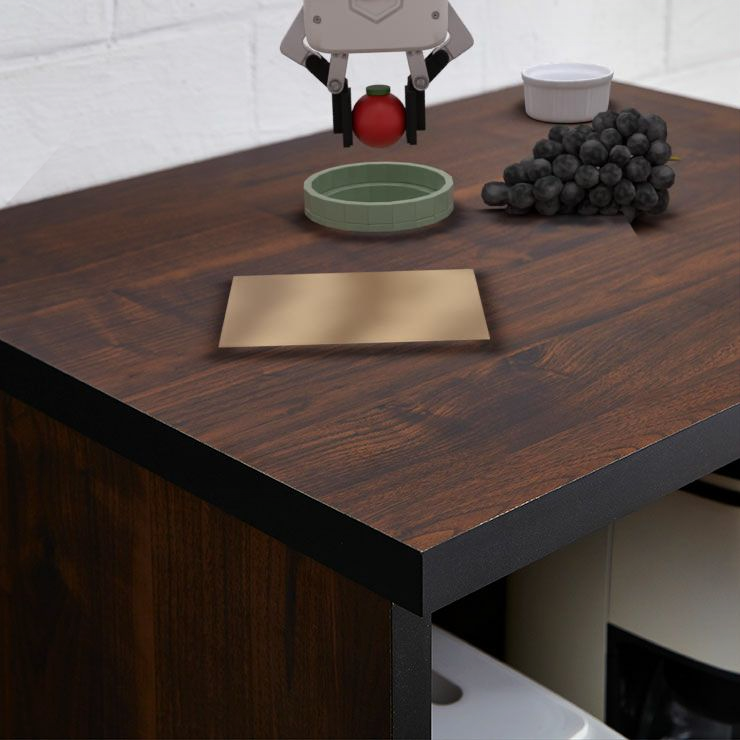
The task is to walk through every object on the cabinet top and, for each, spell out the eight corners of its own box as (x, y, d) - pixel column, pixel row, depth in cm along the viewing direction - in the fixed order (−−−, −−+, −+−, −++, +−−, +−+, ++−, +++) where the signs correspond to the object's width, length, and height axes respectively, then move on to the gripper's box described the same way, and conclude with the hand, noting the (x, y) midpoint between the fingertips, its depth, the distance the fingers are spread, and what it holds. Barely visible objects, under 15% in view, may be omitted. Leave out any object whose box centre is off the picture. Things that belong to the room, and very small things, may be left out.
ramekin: (523, 126, 132) (524, 80, 130) (517, 104, 140) (518, 61, 138) (617, 124, 131) (619, 79, 130) (606, 102, 139) (608, 59, 138)
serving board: (219, 370, 82) (217, 346, 81) (234, 296, 93) (233, 275, 92) (490, 361, 82) (490, 338, 81) (473, 289, 93) (473, 268, 92)
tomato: (351, 155, 101) (349, 94, 99) (351, 140, 105) (349, 81, 103) (409, 153, 101) (407, 92, 99) (406, 138, 105) (405, 79, 103)
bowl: (303, 253, 100) (301, 206, 99) (307, 206, 111) (305, 163, 109) (458, 248, 100) (458, 202, 99) (447, 202, 111) (447, 159, 109)
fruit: (486, 116, 98) (689, 98, 100) (464, 126, 107) (652, 109, 108) (496, 238, 99) (697, 218, 101) (473, 238, 108) (660, 220, 109)
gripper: (246, -109, 92) (264, 159, 99) (498, -118, 92) (497, 151, 99) (253, -119, 99) (269, 133, 106) (488, -128, 99) (487, 124, 106)
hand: (379, 139), depth 103 cm, fingers closed on tomato, 4 cm apart
